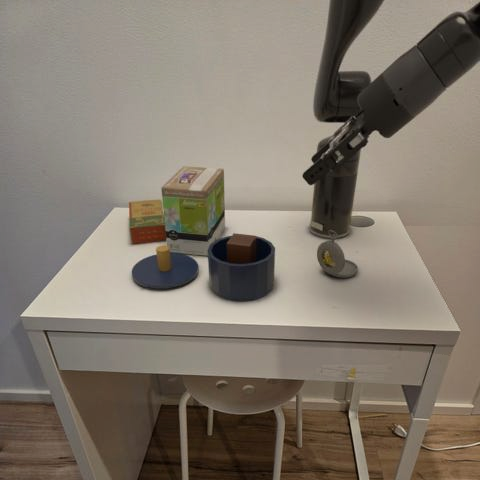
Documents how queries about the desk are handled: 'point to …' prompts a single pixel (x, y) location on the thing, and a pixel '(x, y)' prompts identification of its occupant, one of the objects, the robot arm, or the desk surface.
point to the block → (241, 249)
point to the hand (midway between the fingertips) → (310, 171)
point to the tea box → (194, 209)
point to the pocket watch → (335, 259)
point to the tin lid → (165, 269)
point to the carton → (146, 221)
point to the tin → (241, 272)
